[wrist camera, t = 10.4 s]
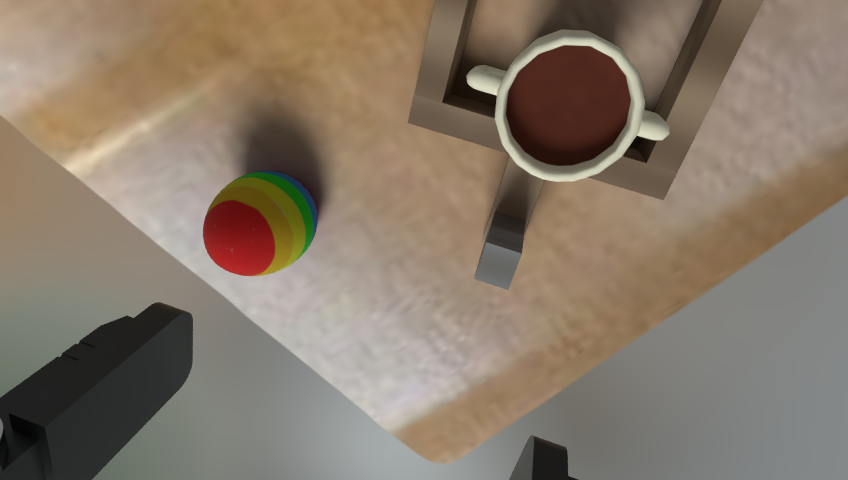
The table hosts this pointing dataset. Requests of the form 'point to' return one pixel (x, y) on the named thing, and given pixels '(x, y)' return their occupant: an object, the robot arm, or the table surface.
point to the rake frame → (636, 170)
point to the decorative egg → (260, 224)
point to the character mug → (568, 105)
